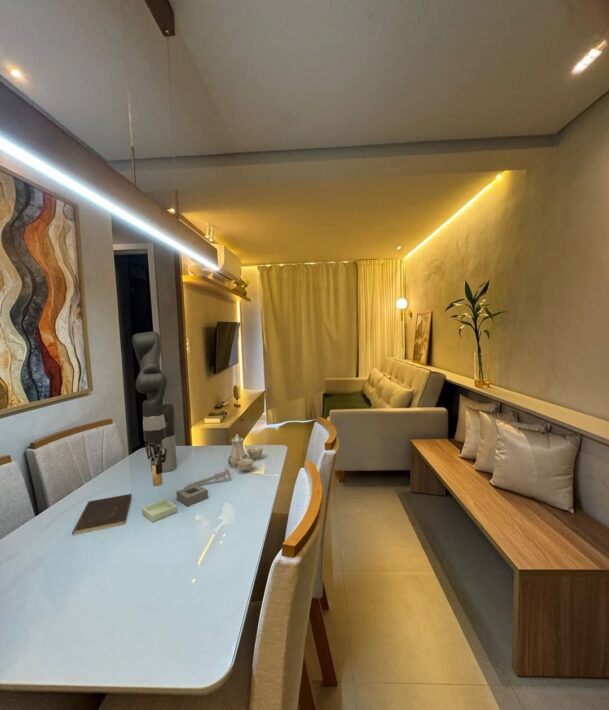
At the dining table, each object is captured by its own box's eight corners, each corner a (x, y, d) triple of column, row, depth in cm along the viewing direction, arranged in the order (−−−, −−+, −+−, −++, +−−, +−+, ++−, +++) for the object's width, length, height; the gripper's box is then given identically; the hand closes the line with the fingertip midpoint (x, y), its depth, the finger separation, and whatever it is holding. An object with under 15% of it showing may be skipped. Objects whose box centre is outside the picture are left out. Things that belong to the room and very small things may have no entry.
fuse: (151, 484, 129) (149, 461, 129) (160, 481, 132) (158, 458, 131) (155, 487, 127) (153, 463, 126) (164, 484, 129) (162, 460, 129)
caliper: (230, 480, 159) (229, 467, 159) (230, 481, 158) (230, 467, 158) (183, 488, 152) (182, 474, 152) (183, 489, 151) (182, 475, 151)
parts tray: (142, 514, 130) (141, 507, 129) (166, 505, 136) (165, 499, 136) (152, 522, 123) (152, 515, 123) (177, 512, 130) (176, 506, 130)
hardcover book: (131, 499, 144) (131, 493, 144) (125, 526, 123) (124, 519, 123) (87, 507, 139) (87, 501, 138) (72, 537, 117) (72, 530, 117)
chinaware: (254, 479, 163) (256, 444, 162) (219, 476, 163) (221, 441, 163) (263, 458, 191) (265, 428, 190) (234, 456, 191) (235, 426, 190)
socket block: (176, 499, 140) (176, 491, 140) (196, 492, 147) (196, 484, 147) (187, 506, 134) (187, 497, 134) (208, 498, 141) (207, 489, 141)
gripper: (136, 426, 130) (139, 471, 131) (152, 432, 121) (155, 480, 121) (156, 422, 136) (158, 465, 137) (172, 427, 126) (175, 473, 127)
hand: (157, 472), depth 129 cm, fingers closed on fuse, 3 cm apart
